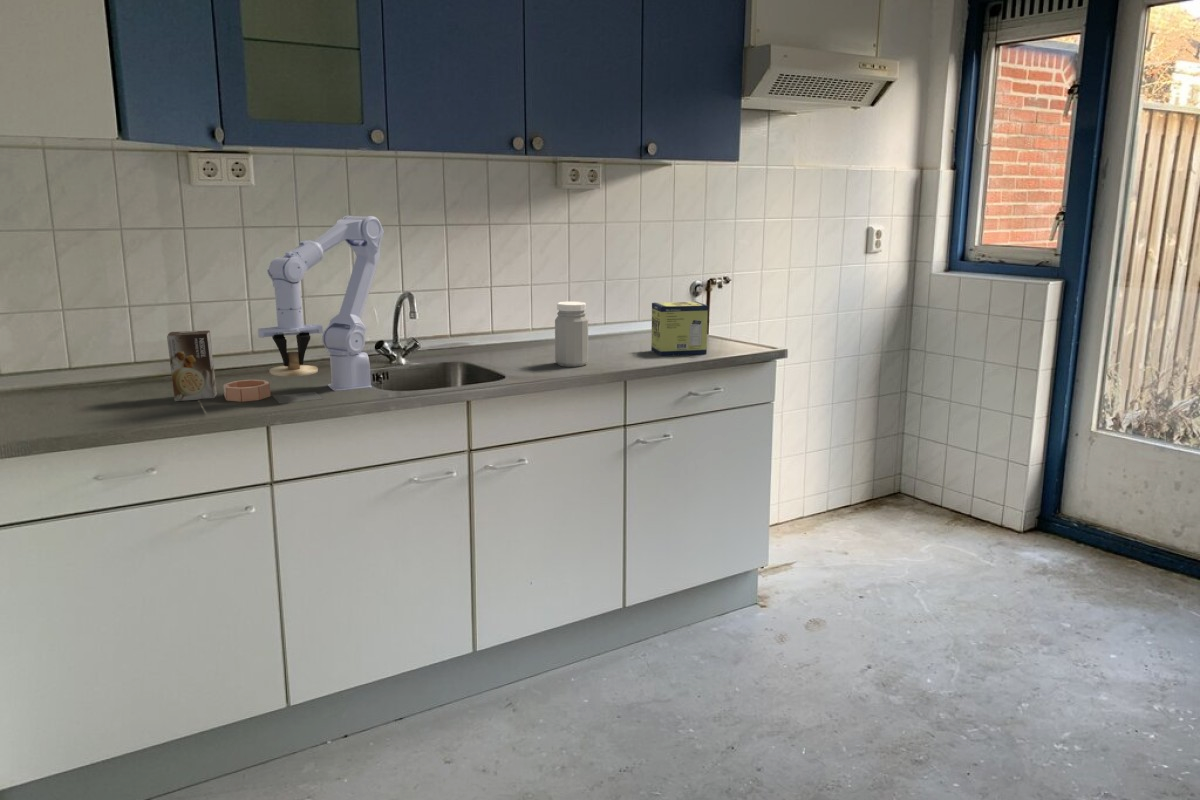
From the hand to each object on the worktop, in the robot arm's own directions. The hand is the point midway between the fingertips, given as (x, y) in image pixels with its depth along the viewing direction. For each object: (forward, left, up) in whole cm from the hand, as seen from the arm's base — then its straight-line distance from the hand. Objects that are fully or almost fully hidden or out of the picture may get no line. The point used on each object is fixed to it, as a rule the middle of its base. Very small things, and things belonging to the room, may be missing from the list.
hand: (293, 365), depth 215 cm
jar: (-80, -9, -9) cm, 81 cm away
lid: (0, 0, -2) cm, 2 cm away
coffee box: (+21, -13, -9) cm, 26 cm away
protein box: (-119, -11, -9) cm, 120 cm away
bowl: (+10, -7, -8) cm, 15 cm away
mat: (0, 0, -8) cm, 8 cm away
